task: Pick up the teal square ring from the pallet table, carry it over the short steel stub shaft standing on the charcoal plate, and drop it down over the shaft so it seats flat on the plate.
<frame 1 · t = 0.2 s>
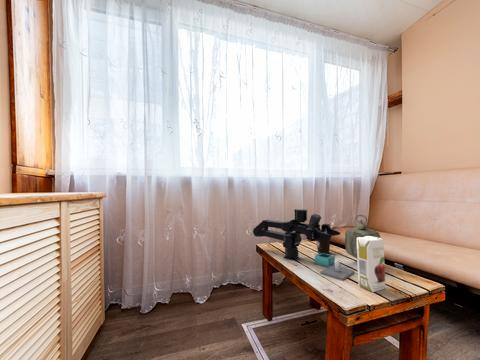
hand: (335, 235, 100), 16 cm above the table, tool horizontal, fingers open, 9 cm apart
station: (337, 273, 96), on the table
teal square ring: (325, 263, 109), on the table
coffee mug: (323, 251, 130), on the table
juice carton: (371, 287, 82), on the table
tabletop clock: (362, 265, 106), on the table
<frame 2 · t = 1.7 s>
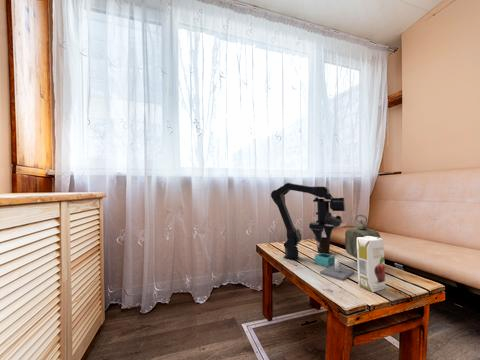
hand: (324, 240, 109), 11 cm above the table, tool pointing down, fingers open, 9 cm apart
nothing on the table moved.
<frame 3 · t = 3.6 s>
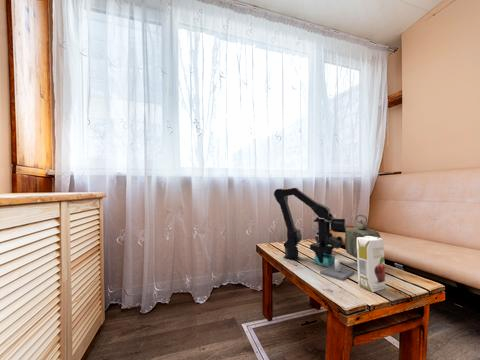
hand: (324, 261, 109), 1 cm above the table, tool pointing down, fingers closed on teal square ring, 7 cm apart
teal square ring: (325, 263, 109), on the table, touching gripper
everything else where it was.
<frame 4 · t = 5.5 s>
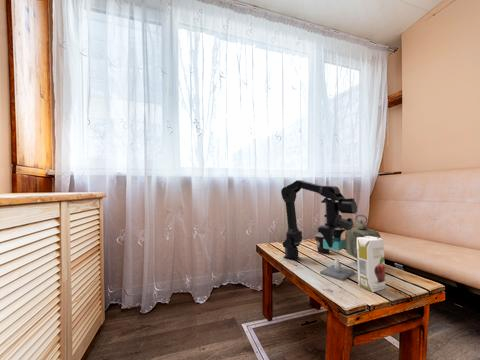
hand: (334, 245, 100), 11 cm above the table, tool pointing down, fingers closed on teal square ring, 7 cm apart
teal square ring: (334, 248, 100), point 10 cm above the table, touching gripper
everything else where it was.
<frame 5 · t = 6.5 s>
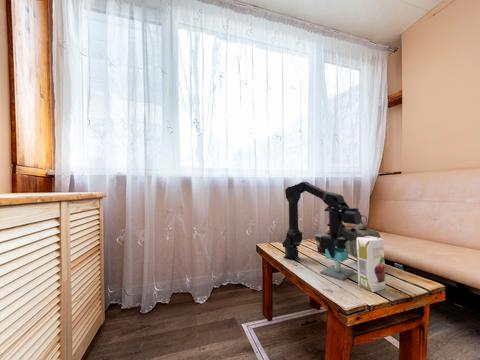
hand: (336, 256, 96), 8 cm above the table, tool pointing down, fingers closed on teal square ring, 7 cm apart
teal square ring: (336, 258, 96), point 7 cm above the table, touching gripper
everything else where it was.
when the fingers open (7 cm above the table, at t = 7.5 s): teal square ring drops 5 cm, resting on station.
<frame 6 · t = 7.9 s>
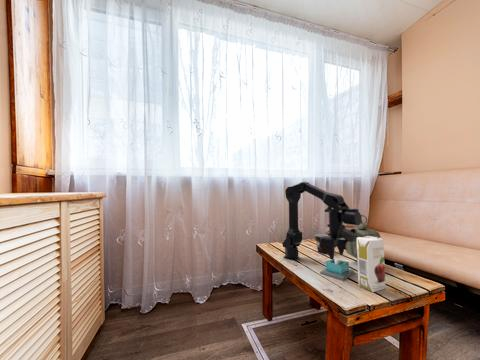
hand: (336, 256, 96), 7 cm above the table, tool pointing down, fingers open, 9 cm apart
teal square ring: (337, 271, 96), point 1 cm above the table, touching station
everything else where it was.
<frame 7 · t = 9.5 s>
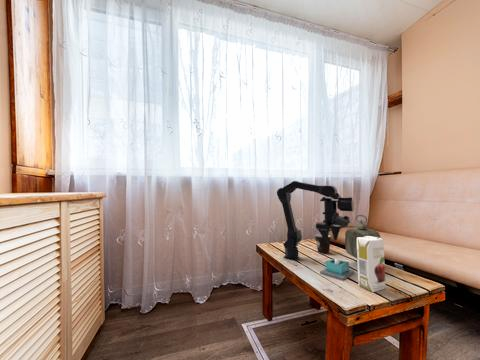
hand: (331, 241, 107), 12 cm above the table, tool pointing down, fingers open, 9 cm apart
nothing on the table moved.
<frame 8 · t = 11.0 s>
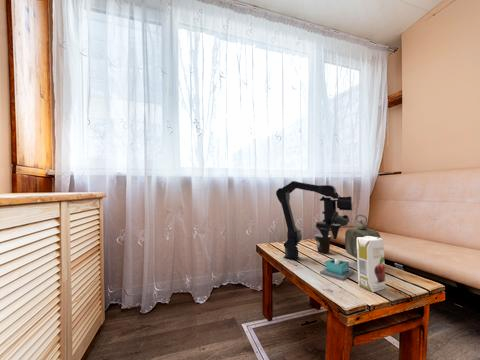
hand: (330, 240, 108), 12 cm above the table, tool pointing down, fingers open, 9 cm apart
nothing on the table moved.
at the end: teal square ring 0.1 cm off-centre on the station, point 1.0 cm above the station's base; teal square ring tilted 0°; the gripper is holding nothing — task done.
